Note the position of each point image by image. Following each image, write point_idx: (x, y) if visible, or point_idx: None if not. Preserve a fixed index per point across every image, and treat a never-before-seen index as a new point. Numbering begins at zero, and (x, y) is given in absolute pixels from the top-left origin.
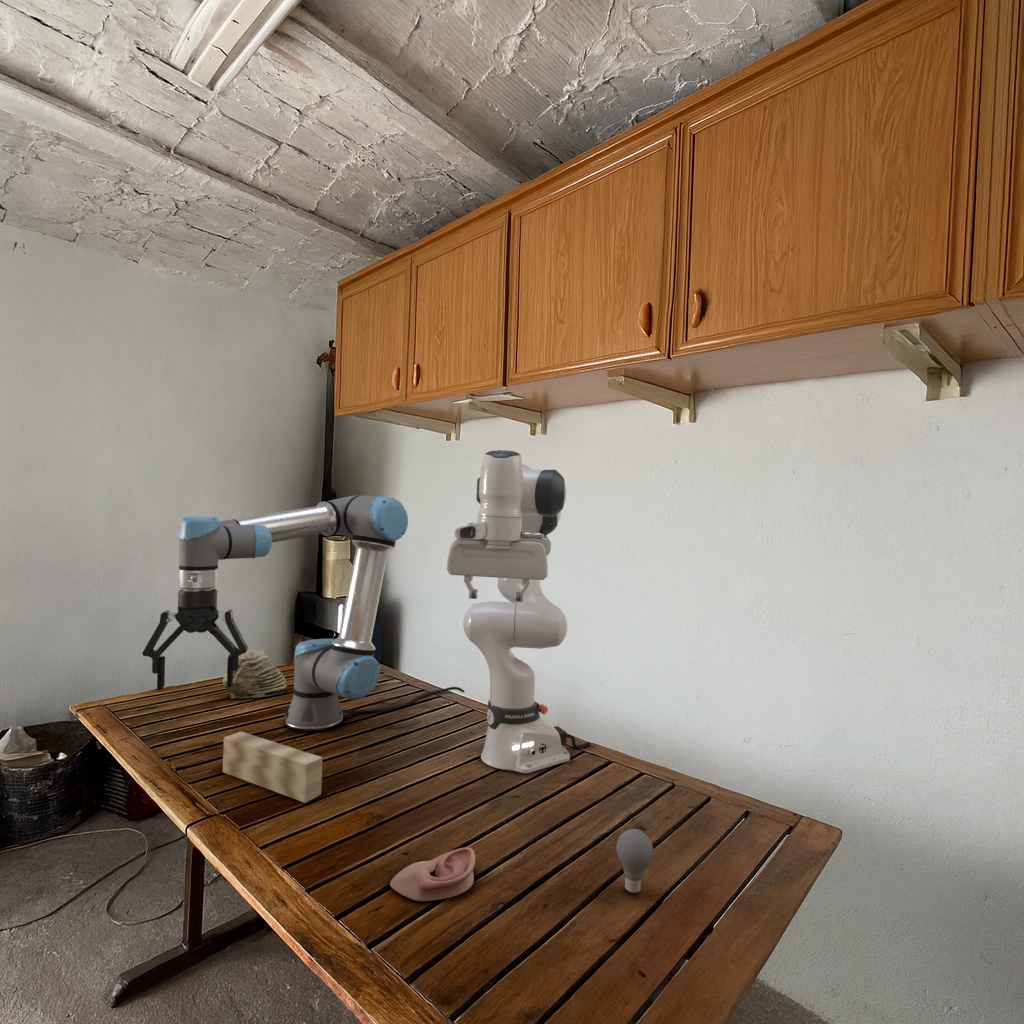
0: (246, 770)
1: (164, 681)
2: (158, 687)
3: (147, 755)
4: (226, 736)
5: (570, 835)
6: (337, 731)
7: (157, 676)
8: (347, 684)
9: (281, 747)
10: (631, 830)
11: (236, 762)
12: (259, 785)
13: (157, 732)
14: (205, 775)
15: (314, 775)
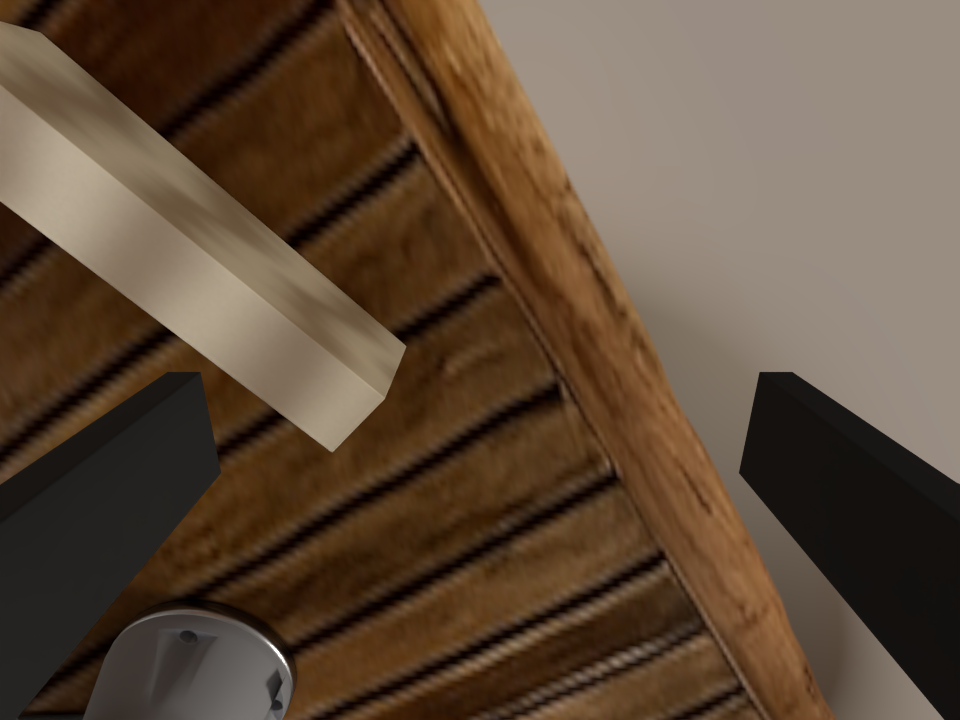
0: (297, 270)
1: (760, 495)
2: (794, 380)
3: (665, 504)
4: (375, 404)
5: None
6: None
7: (881, 432)
8: None
9: (92, 242)
10: None
11: (338, 313)
12: (251, 214)
13: (663, 653)
14: (457, 331)
15: None
